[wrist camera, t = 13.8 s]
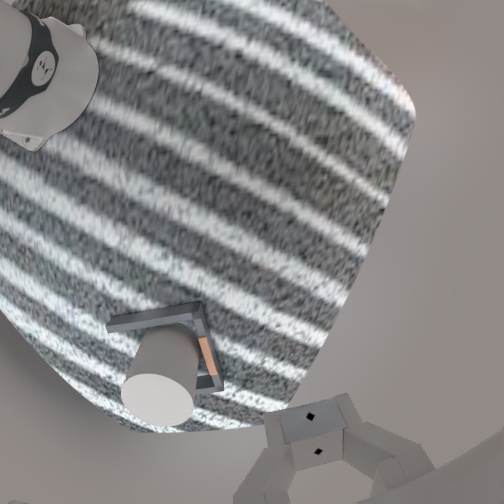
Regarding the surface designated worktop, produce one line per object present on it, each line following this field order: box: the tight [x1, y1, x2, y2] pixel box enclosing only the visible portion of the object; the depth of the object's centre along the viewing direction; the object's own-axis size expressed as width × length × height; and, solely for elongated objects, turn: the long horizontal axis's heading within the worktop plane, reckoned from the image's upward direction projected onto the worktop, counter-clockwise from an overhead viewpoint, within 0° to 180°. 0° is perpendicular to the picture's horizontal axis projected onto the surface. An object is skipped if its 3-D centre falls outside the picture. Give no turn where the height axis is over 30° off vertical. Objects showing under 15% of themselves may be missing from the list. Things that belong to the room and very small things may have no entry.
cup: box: [121, 322, 200, 427], centre depth 35 cm, size 8×8×12 cm
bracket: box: [105, 301, 224, 395], centre depth 39 cm, size 13×13×4 cm
